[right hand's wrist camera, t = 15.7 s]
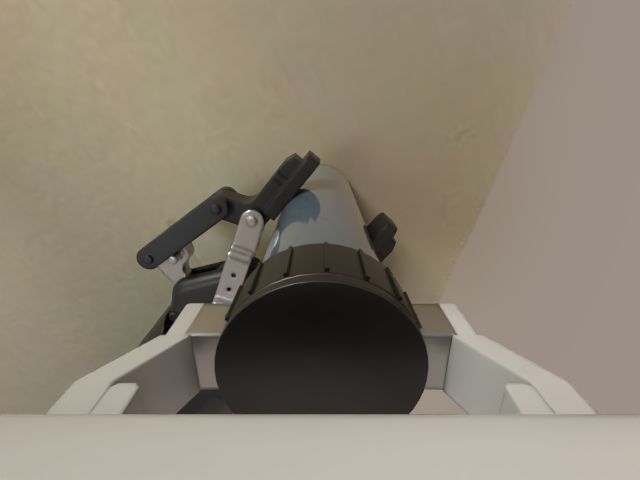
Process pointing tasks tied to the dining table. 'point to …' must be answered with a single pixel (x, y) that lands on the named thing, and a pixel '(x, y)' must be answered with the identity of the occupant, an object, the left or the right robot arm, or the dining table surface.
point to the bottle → (321, 216)
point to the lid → (321, 337)
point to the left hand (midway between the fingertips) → (352, 190)
